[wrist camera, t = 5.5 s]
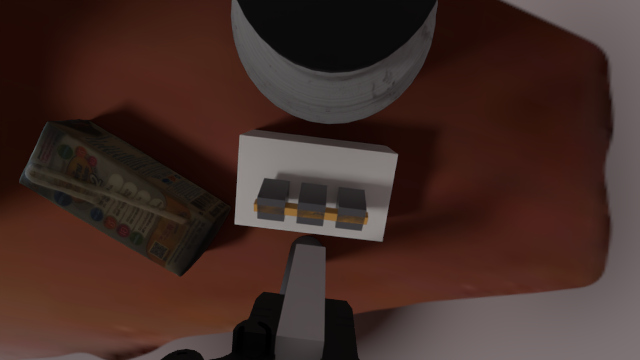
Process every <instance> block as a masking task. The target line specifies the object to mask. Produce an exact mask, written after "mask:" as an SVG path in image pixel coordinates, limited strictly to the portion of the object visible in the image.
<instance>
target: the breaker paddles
mask: <svg viewBox="0 0 640 360" xmlns="http://www.w3.org/2000/svg"><path fill="white" fill-rule="evenodd" d="M289 188H290V181H286V180H277V179H269V178H264V180H263V183H262V185H261V188H260V191H259V193H258V196H257V199H255V202H254V211H255V212H257V219H264V220H273V221H281V222H284V219H285V215H289V216H297V220H296V223H298V224H307V225H315V226H323V222H324V220H331V221H335V228H340V229H349V230H357V231H362V228H363V224H364V225H367V221H368V212H366V211H367V208H366V199H365V190H360V189H352V188H344V187H339V190H338V196H337V202H336V208H330V207H326V198H327V185H319V184H311V183H301V189H300V194H299V200H298V204H296V203H288V202H289Z"/></svg>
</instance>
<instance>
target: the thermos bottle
mask: <svg viewBox="0 0 640 360" xmlns="http://www.w3.org/2000/svg"><path fill="white" fill-rule="evenodd" d="M437 7H438V0H232V8H231V21H232V29H233V38H234V41H235V45H236V48H237V51H238V55H239V58H240V60H241V62H242V64H243V66H244V68H245V70H246V72H247V74H248V76H249V77H250V79H251V80H252V81H253V82H254V84H255V85H256V86H257V88H258V89H259V90H260V92H261V93H262V94H263V95H265V96H266V97H267V98H268V99H269V100H270V101H271V102H272V103H274V104H275V105H276V106H278V107H279V108H281V109H283V110H284V111H286V112H288V113H289V114H291V115H293V116H296V117H299V118H302V119H304V120H307V121H310V122H317V123H325V124H337V123H349V122H352V121H356V120H360V119H364V118H366V117H369V116H371V115H373V114H375V113H377V112H379V111H381V110H383V109H384V108H385V107H387V106H388V105H389V104H391V103H392V102H393V101H395V100H396V99H398V98H399V97H400V95H401V94H402V93H403V92H404V91H405V90H406V89H407V88H408V87H409V86H410V85H411V84H412V82H413V80H414V79H415V77H416V76H417V74H418V73H419V71H420V69H421V68H422V66H423V64H424V62H425V59H426V57H427V54H428V52H429V49H430V47H431V43H432V38H433V33H434V28H435V21H436V11H437Z"/></svg>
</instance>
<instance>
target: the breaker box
mask: <svg viewBox="0 0 640 360" xmlns="http://www.w3.org/2000/svg"><path fill="white" fill-rule="evenodd" d="M397 158H398V154H397V153H396V152H394V151H393V150H392V149H390V148H389V147H387V146H384V145H376V144H368V143H360V142H352V141H344V140H335V139H327V138H319V137H311V136H303V135H295V134H286V133H278V132H270V131H262V130H251V131H249V132H246V133H243V134H241V135H240V140H239V157H238V174H237V191H236V208H235V224H237V225H245V226H254V227H262V228H270V229H279V230H287V231H296V232H304V233H313V234H321V235H330V236H338V237H347V238H355V239H363V240H372V241H380V242H382V241H383V235H384V230H385V224H386V219H387V213H388V208H389V202H390V197H391V191H392V186H393V180H394V175H395V169H396V164H397ZM264 178H269V179H277V180H286V181H290V188H289V202H288V203H296V204H298V200H299V194H300V189H301V183H311V184H319V185H327V198H326V207H330V208H336V202H337V196H338V190H339V187H344V188H352V189H360V190H365V199H366V208H367V211H366V212H368V221H367V225H364V224H363V228H362V231H357V230H349V229H340V228H335V221H331V220H324V222H323V226H315V225H307V224H298V223H296V220H297V216H289V215H285V219H284V222H281V221H273V220H264V219H257V212H255V211H254V202H255V199H257V196H258V193H259V191H260V188H261V185H262V183H263V180H264Z"/></svg>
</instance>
